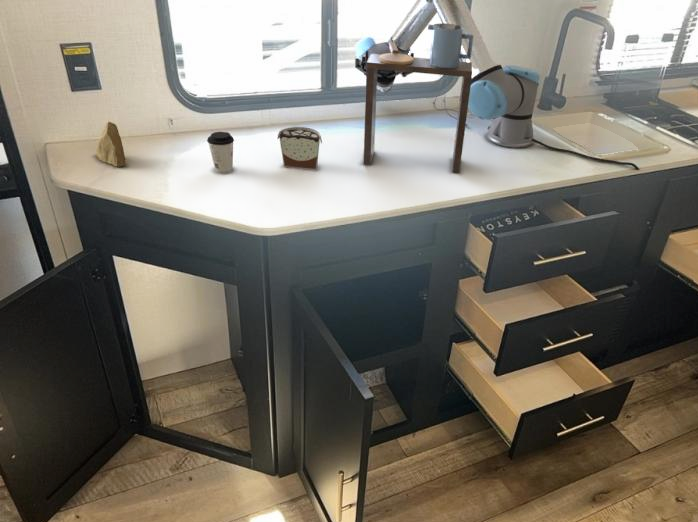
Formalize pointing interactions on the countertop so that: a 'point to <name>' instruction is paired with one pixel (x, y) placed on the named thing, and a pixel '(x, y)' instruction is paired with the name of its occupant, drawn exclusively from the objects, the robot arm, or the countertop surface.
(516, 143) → the robot arm
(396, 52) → the lid
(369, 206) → the countertop surface
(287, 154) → the food container
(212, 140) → the coffee cup
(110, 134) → the rock
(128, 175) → the countertop surface
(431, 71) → the riser
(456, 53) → the jug
